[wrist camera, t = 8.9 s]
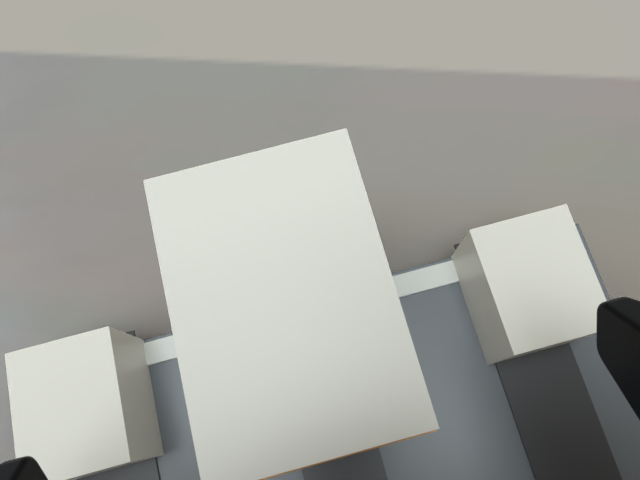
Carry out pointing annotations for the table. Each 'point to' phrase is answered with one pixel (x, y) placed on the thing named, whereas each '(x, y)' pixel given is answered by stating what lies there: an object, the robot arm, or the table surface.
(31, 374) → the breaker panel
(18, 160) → the table surface
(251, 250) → the block
